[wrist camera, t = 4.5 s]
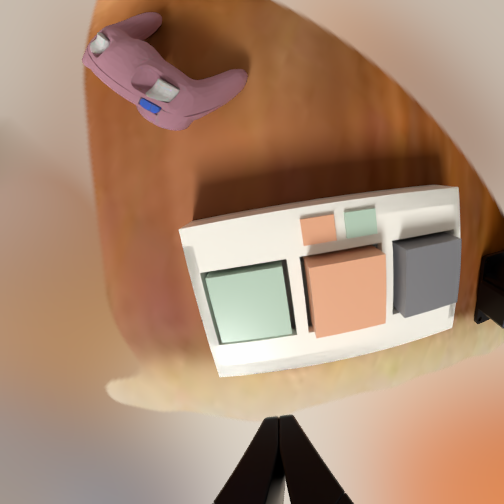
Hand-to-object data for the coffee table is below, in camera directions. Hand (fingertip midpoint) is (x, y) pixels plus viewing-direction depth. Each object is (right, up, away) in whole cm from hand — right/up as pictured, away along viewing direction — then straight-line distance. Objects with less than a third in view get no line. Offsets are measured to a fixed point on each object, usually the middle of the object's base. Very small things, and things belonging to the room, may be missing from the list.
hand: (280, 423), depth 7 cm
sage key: (-1, +3, +10) cm, 11 cm away
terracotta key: (+5, +3, +9) cm, 11 cm away
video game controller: (-6, +17, +8) cm, 20 cm away
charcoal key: (+10, +4, +9) cm, 14 cm away
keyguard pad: (+5, +4, +11) cm, 12 cm away
